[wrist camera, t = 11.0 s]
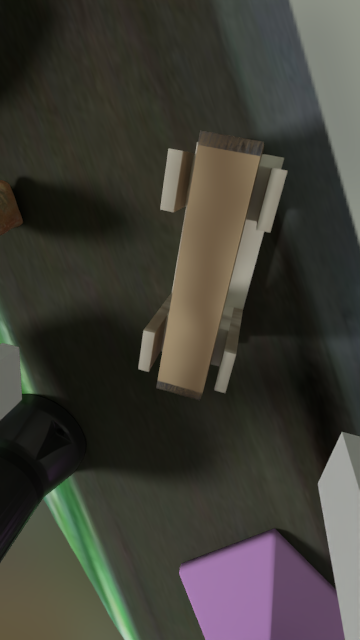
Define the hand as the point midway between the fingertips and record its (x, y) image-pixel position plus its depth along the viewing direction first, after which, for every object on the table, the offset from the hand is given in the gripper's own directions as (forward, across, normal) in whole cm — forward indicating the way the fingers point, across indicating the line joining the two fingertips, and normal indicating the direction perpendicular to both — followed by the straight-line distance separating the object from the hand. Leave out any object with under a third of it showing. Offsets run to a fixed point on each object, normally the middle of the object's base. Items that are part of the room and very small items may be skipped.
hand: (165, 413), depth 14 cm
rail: (+18, -1, +1) cm, 18 cm away
